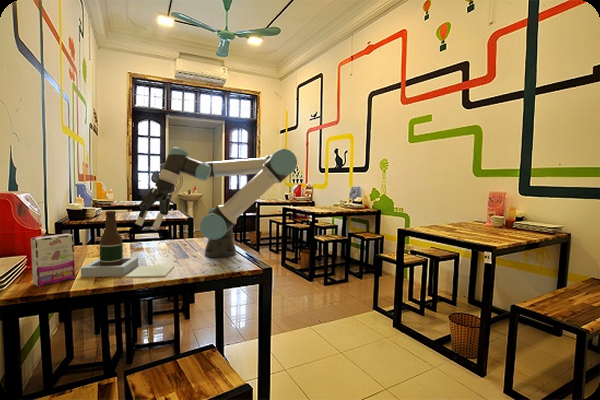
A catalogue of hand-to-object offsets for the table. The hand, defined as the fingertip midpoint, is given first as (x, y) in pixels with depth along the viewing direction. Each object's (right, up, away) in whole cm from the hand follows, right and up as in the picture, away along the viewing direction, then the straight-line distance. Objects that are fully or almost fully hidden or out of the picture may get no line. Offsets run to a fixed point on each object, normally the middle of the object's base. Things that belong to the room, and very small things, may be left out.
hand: (147, 226), depth 135 cm
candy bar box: (-21, -18, -24) cm, 37 cm away
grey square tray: (-9, -17, -10) cm, 22 cm away
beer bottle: (-9, -17, -10) cm, 22 cm away
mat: (+7, -17, -11) cm, 22 cm away
